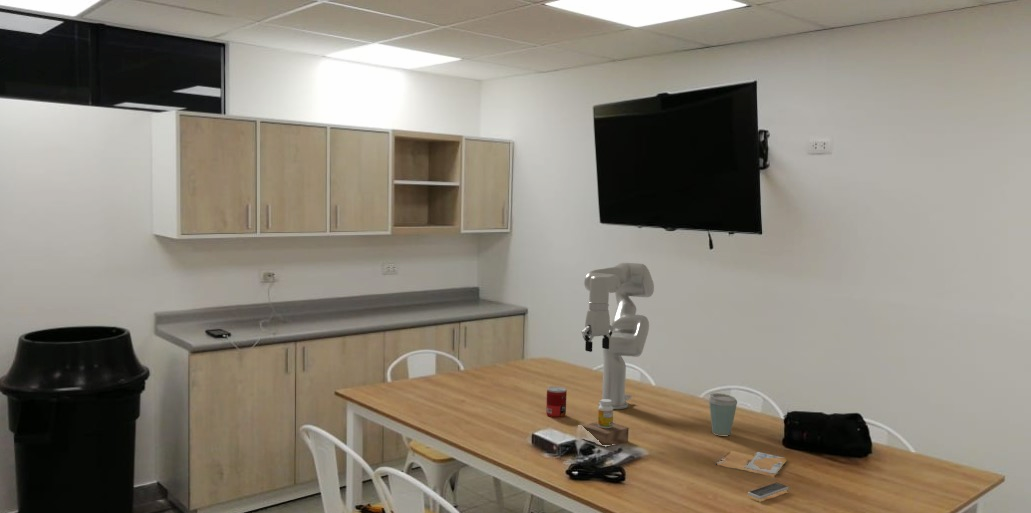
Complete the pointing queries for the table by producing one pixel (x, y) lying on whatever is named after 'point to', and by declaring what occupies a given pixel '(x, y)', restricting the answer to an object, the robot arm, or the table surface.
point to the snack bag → (762, 456)
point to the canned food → (556, 402)
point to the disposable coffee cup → (722, 413)
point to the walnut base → (608, 433)
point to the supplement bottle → (605, 414)
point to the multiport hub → (767, 490)
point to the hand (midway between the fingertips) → (597, 349)
